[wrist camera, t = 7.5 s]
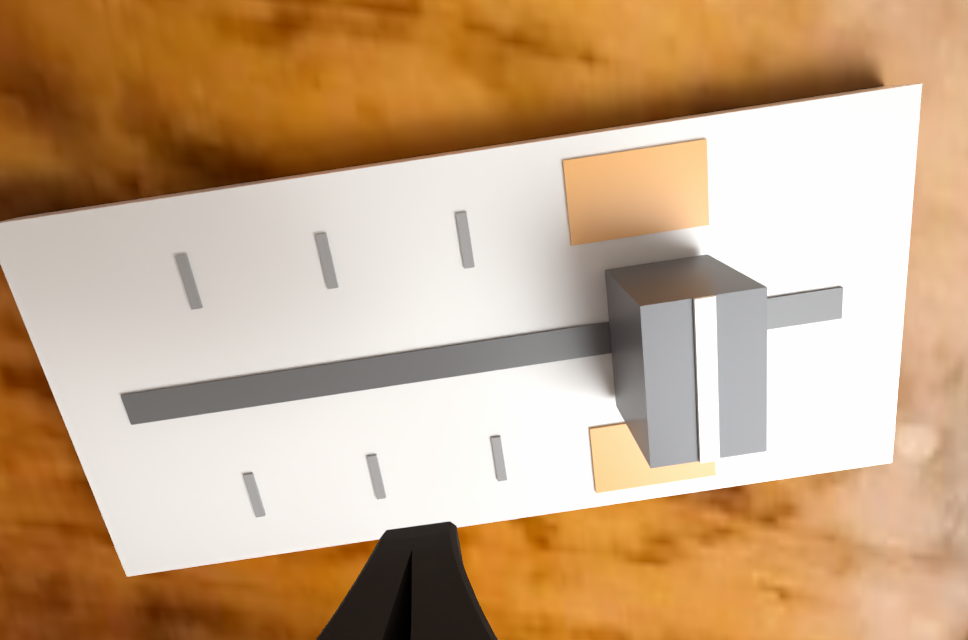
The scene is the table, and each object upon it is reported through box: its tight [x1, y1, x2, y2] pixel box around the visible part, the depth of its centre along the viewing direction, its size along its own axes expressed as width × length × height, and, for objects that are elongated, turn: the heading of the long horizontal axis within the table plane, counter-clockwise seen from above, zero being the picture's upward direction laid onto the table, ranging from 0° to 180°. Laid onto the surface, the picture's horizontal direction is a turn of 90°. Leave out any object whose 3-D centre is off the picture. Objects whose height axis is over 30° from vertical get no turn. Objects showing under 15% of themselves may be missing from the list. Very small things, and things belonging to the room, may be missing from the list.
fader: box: [605, 254, 767, 468], centre depth 17 cm, size 4×3×4 cm
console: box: [0, 84, 922, 577], centre depth 19 cm, size 12×26×2 cm, turn 98°
